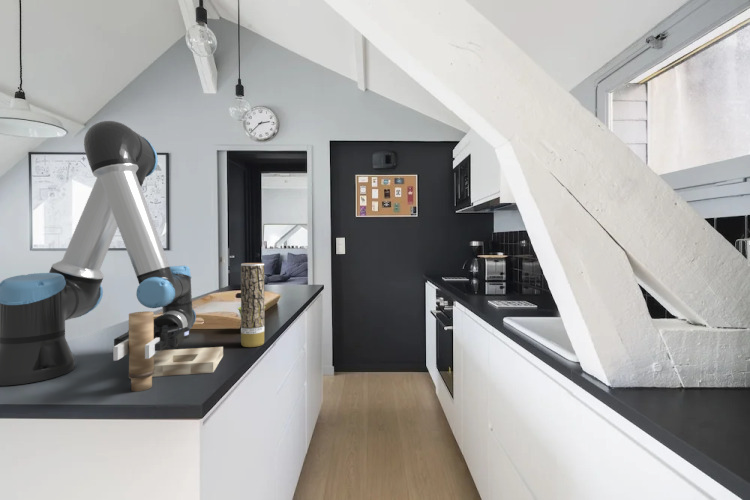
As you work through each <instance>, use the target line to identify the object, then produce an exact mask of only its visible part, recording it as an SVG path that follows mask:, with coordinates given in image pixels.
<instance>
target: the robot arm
mask: <svg viewBox="0 0 750 500" xmlns="http://www.w3.org/2000/svg"><path fill="white" fill-rule="evenodd" d="M83 147H84V152H85V155H86V159H87V161H88V165H89V167H90V170H91V173H92V174H93V176H94V178H95V177H96V180H95V182H94V185H93V187H92V189H91V191H90V194H89V196H88V198H87V200H86V203H85V206H84V208H83V210H82V213H81V215H80V217H79V220H78V222H77V224H76V227H75V229H74V231H73V234H72V236H71V238H70V241H69V243H68V246H67V247H66V251H65V253H64V255H63V258H62V259H61V260H60V261H57V262H55V263H52V264H51V267H50V269H49V272H39V273H38V272H37V273H35V272H34V273H29V274H21V275H14V276H11V277H7V278H5V279H3V280H1V281H0V386H3V387H5V386H17V385H25V384H32V383H37V382H41V381H46V380H50V379H51V380H52V379H54V378H57V377H60V376H63V375H66V374H68V373H70V372H72V371H73V370H75V357H74V355H73V352H72V350H71V348H70V346H69V343H68V341H67V339H66V321H68V320H71V319H76V318H80V317H82V316H85V315H87V314H89V313H90V312H91V311H93V310H94V309H96V308H97V307H98V305H99V304H100V303H101V300H102V299H103V296H104V295H103V293H104V289H103V287H102V282H103V280H104V277H105V276H104V274H103V273H102V270H101V267H102V265H103V263H104V261H105V258H106V256H107V253H108V251H109V249H110V246H111V244H112V242H113V240H114V239H113V238H114V237H115V235H116V232H117V229H118V230H119V233H120V235H121V239H122V241H123V245H124V247H125V249H126V251H127V254H128V257H129V260H130V262H131V265H132V267H133V271H134V273H135V276H136V279H137V281H138V284H139V285H138V286H137V288H136V294H135V295H136V298H137V300H138V302H139V303H140V304H141V305H142V306H144V307H146V308H148V309H157V308H162V314H159V315H158V316H157V317H155V318H154V339H153V340H152V341H151V342H149V343H148V344H146V345H145V359H149V358H150V357H152V356H153V355H154V354H155V353H157V352H158V351H160V350H167V347H169V346H170V348H171V349H175V348H176V347H178V346H179V345H180V344H181V343H182V342H183V341H185V340H186V339H188V338H189V339H190V330H191V328H193V326H194V324H195V323H196V321H197V313H196V311H195V310H194V308H193V299H192V284H191V283H192V280H191V279H192V276H191V275H192V274H191V269H190V267H189V266H188V265H172V266H171V265H170V264H169V261H168V258H167V256H166V253H165V249H164V247H163V245H162V243H161V239H160V236H159V233H158V230H157V227H156V226H155V223H154V219H153V217H152V214H151V211H150V208H149V205H148V203H147V201H146V198H145V194H144V192H143V190H142V185H143V184H144V181H145V180H146V178H148V177H149V176H151V175H152V174H153V173H154V172H155V171H156V169H157V166H158V162H159V159H158V154H157V151H156V149H155V148H154V146H153V145H152V143H151V142H150V141H149V140H148V139H146V138H145V137H144V136H142V135H140V134H139V133H137V132H136V131H134V130H133V129H131V127H129V126H127V125H126V124H124V123H121V122H118V121H115V120H103V121H99V122H97V123H95V124H92V126H91V127H89V128H88V129H87V131H86V133H85V135H84V139H83ZM113 345H114V346H113V350H112V351H113V352H112V353H113V355H112V356H113V357H112V358H113V361H114V362H115V361H119V360H120V359H123V358H124V357H125V356H127V355H129V329H128V330H127V332H125V333H123V334H121V335H119V336H117V337H115V338H114V339H113Z"/></svg>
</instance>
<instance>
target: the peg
mask: <svg viewBox="0 0 750 500" xmlns="http://www.w3.org/2000/svg"><path fill="white" fill-rule="evenodd" d="M154 317H155V316H154V311H150V310H149V311H137V312H130V313H128V330H129V353H128V378H129V377H130V378H129V379H130V390H131V391H132V392H144V391H147V390H149V389H151V388H153V377H152V374H154V355H153V356H152V357H150V358H149V359H145V345H146V344H148V343H149V342H151V341H152V340H153V339H154V319H155V318H154Z"/></svg>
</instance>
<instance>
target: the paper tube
mask: <svg viewBox="0 0 750 500" xmlns="http://www.w3.org/2000/svg"><path fill="white" fill-rule="evenodd" d="M264 306H265V263H264V262H243V263H241V264H240V307H241V316H240V344H241V346H242V347H244V348H255V347H256V348H257V347H260V346H263V345H264V343H265V308H264Z"/></svg>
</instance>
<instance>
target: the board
mask: <svg viewBox="0 0 750 500" xmlns="http://www.w3.org/2000/svg"><path fill="white" fill-rule="evenodd" d="M223 357H224V346H215V347H211V346H210V347H197V348H195V347H194V348H193V347H192V348H178V349H175V348H174V349H162V350H160V351H158V352H157V353H155V354H154V374H152V378H154V377H169V376H183V375H185V376H186V375H195V374H209V373H210V374H211V373H214V372H215V371H216V369H217V367H218V366H219V363H220V362H221V360H222V359H223ZM128 379H131V378H130V377H129V376H128Z"/></svg>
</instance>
